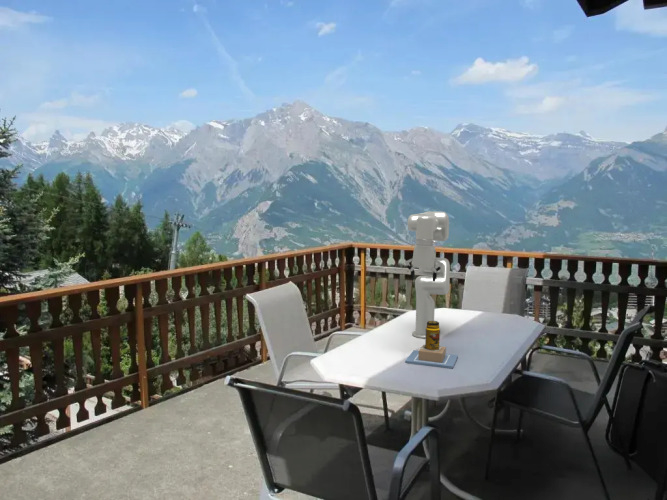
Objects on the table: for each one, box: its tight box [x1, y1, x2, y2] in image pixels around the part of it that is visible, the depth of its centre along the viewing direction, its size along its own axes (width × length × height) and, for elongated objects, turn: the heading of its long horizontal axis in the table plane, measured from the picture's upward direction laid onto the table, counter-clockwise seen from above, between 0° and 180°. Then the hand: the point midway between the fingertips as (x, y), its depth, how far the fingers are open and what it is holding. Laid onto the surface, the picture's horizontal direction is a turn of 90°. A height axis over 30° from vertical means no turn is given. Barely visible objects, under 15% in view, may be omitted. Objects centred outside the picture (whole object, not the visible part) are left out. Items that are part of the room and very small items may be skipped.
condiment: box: [418, 320, 443, 351], centre depth 221 cm, size 7×8×12 cm
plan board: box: [404, 345, 459, 370], centre depth 221 cm, size 18×20×5 cm
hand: (423, 280), depth 233 cm, fingers open, 9 cm apart
